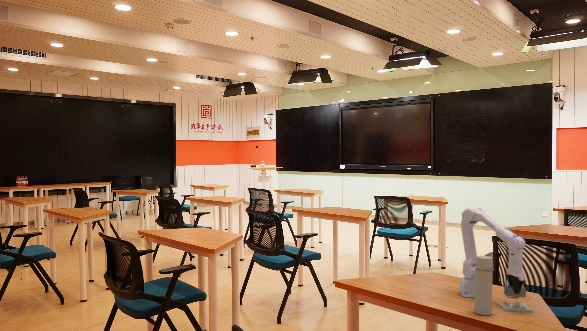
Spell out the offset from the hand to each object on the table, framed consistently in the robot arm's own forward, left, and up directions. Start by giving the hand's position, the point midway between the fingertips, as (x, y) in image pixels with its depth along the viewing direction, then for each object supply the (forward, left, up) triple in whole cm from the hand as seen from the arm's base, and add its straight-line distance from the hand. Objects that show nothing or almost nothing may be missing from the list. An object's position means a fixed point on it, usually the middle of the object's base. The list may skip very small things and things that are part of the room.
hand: (514, 292), depth 204 cm
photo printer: (+9, +21, -8) cm, 24 cm away
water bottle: (-17, -9, -8) cm, 21 cm away
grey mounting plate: (0, 0, -7) cm, 7 cm away
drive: (0, 0, -1) cm, 1 cm away
